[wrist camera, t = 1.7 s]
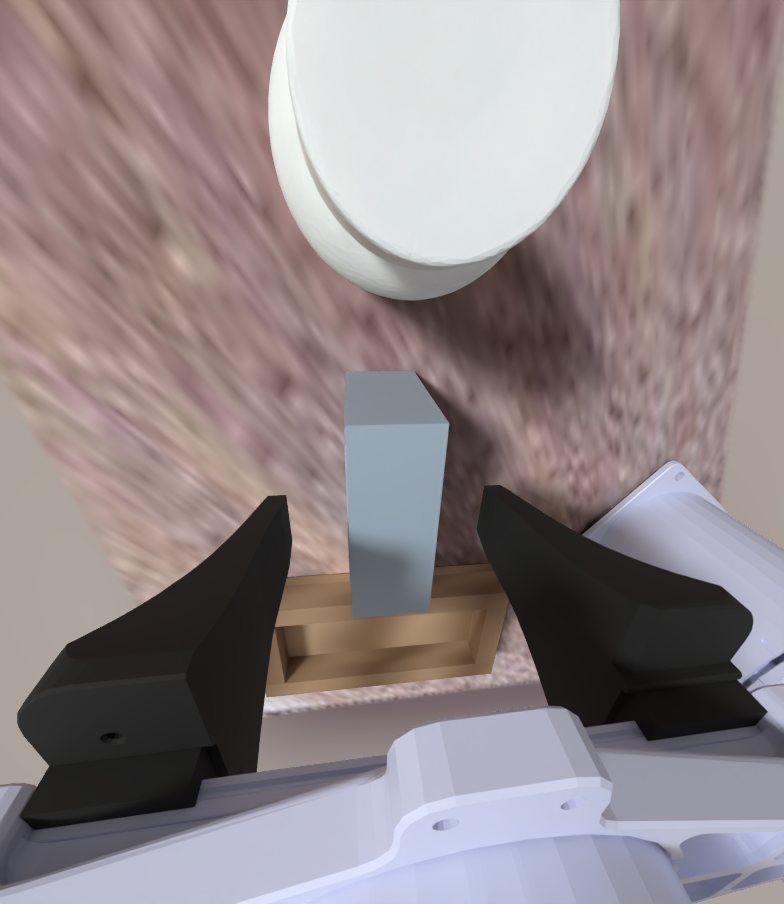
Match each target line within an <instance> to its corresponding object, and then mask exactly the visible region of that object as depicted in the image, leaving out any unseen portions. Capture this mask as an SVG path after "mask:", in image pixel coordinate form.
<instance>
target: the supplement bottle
mask: <svg viewBox="0 0 784 904" xmlns="http://www.w3.org/2000/svg"><path fill="white" fill-rule="evenodd" d="M619 34H620V1H619V0H289V1H288V10H287V16H286V18H285V21H284V23H283V26H282V29H281V32H280V35H279V38H278V42H277V46H276V50H275V54H274V58H273V64H272V69H271V77H270V86H269V99H268V104H269V132H270V140H271V148H272V155H273V160H274V164H275V168H276V172H277V176H278V180H279V183H280V186H281V189H282V192H283V195H284V197H285V200H286V202H287V205H288V207H289V209H290V212H291V214H292V216H293V217H294V219H295V221H296V223H297V225H298V227H299V228H300V230H301V232H302V233H303V235H304V236H305V238H306V239H307V240H308V242H309V243H310V245H311V246H312V248H313V249H314V250H315V251H316V253H317V254H318V255H319V256H320V257H321V258H322V259H323V260H324V261H325V262H326V263H327V264H328V265H329V266H330V267H331V268H332V269H333V270H335V271H336V272H337V273H338V274H339V275H341V276H342V277H344V278H345V279H346V280H348V281H349V282H351V283H352V284H354V285H356V286H358V287H360V288H362V289H364V290H366V291H368V292H371V293H373V294H376V295H380V296H383V297H387V298H392V299H398V300H424V299H430V298H435V297H439V296H443V295H446V294H449V293H452V292H454V291H456V290H458V289H460V288H462V287H464V286H466V285H468V284H470V283H472V282H473V281H475V280H476V279H477V278H479V277H480V276H482V275H483V274H484V273H486V272H487V271H488V270H489V269H491V268H492V267H493V266H494V265H495V264H496V263H497V262H498V261H499V260H500V259H501V258H502V257H503V256H504V255H505V254H506V252H507V251H508V250H509V249H510V248H512V247H514V246H515V245H517V244H518V243H520V242H521V241H522V240H524V239H525V238H526V237H528V236H529V235H530V234H532V233H533V232H534V231H535V230H537V229H538V228H539V227H540V226H541V225H542V224H543V223H544V222H545V221H546V220H547V219H548V218H549V217H550V215H551V214H552V213H553V212H554V211H555V210H556V209H557V208H558V207H559V205H560V204H561V202H562V201H563V200H564V198H565V197H566V195H567V194H568V193H569V191H570V190H571V188H572V187H573V185H574V183H575V182H576V180H577V179H578V177H579V176H580V174H581V173H582V171H583V169H584V167H585V165H586V163H587V161H588V159H589V157H590V155H591V152H592V150H593V147H594V145H595V143H596V140H597V138H598V135H599V133H600V130H601V127H602V124H603V121H604V118H605V115H606V112H607V109H608V105H609V100H610V96H611V92H612V88H613V83H614V78H615V70H616V64H617V58H618V42H619Z"/></svg>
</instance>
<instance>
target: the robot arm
mask: <svg viewBox="0 0 784 904" xmlns="http://www.w3.org/2000/svg"><path fill="white" fill-rule="evenodd" d="M477 531H478V534H479V537H480V540H481V543H482V546H483V549H484V552H485V554H486V556H487V558H488V560H489V562H490V564H491V566H492V568H493V570H494V572H495V574H496V576H497V578H498V580H499V582H500V584H501V586H502V588H503V589H504V591H505V593H506V595H507V597H508V599H509V601H510V603H511V605H512V607H513V609H514V612H515V614H516V616H517V618H518V621H519V623H520V626H521V629H522V631H523V634H524V636H525V639H526V641H527V644H528V647H529V650H530V653H531V655H532V658H533V661H534V664H535V666H536V669H537V672H538V675H539V678H540V681H541V684H542V687H543V690H544V693H545V696H546V699H547V702H548V705H549V706H535V707H527V708H519V709H511V710H504V711H496V712H489V713H480V714H472V715H464V716H457V717H449V718H441V719H435V720H431V721H428V722H424V723H420V724H417V725H414V726H413V727H411V728H410V729H408V730H406V731H405V732H403V733H402V734H400V735H398V737H397V738H396V739H395V741H394V743H393V745H392V746H391V748H390V750H389V752H388V754H387V755H380V756H373V757H367V758H358V759H351V760H344V761H336V762H329V763H322V764H314V765H307V766H300V767H292V768H285V769H278V770H270V771H263V772H257V762H258V752H259V742H260V733H261V724H262V716H263V707H264V698H265V690H266V683H267V675H268V667H269V660H270V653H271V645H272V639H273V634H274V629H275V624H276V620H277V616H278V612H279V608H280V603H281V599H282V595H283V591H284V587H285V583H286V579H287V575H288V570H289V565H290V557H291V547H292V536H291V528H290V521H289V513H288V506H287V498H286V495H278V496H268V497H267V498H266V499H265V500H264V501H263V502H262V503H261V504H260V505H259V506H258V508H257V509H256V510H255V511H254V512H253V513H252V514H251V515H250V517H249V518H248V519H247V520H246V521H245V522H244V523H243V524H242V525H241V526H240V527H239V528H238V529H237V530H236V532H235V533H234V534H233V535H232V536H231V537H230V538H229V539H228V540H226V541H225V542H224V543H223V544H222V545H221V546H220V547H219V548H218V549H217V550H216V551H215V552H214V553H213V554H212V555H210V556H209V557H208V558H207V559H206V560H204V561H203V562H202V563H201V564H199V565H198V566H197V567H196V568H194V569H193V570H192V571H191V572H189V573H188V574H187V575H185V576H184V577H182V578H181V579H179V580H178V581H176V582H175V583H174V584H172V585H171V586H169V587H168V588H166V589H165V590H164V591H162V592H161V593H159V594H158V595H156V596H154V597H153V598H151V599H150V600H148V601H146V602H145V603H143V604H142V605H140V606H138V607H136V608H135V609H133V610H131V611H130V612H128V613H126V614H125V615H123V616H121V617H119V618H117V619H116V620H114V621H112V622H110V623H108V624H106V625H104V626H102V627H100V628H98V629H96V630H94V631H92V632H90V633H88V634H87V635H85V636H83V637H81V638H79V639H77V640H75V641H73V642H71V643H68V644H67V645H66V646H65V648H64V649H63V650H62V651H61V653H60V654H59V655H58V657H57V658H56V659H55V661H54V662H53V663H52V664H51V666H50V667H49V669H48V670H47V672H46V673H45V674H44V675H43V677H42V678H41V680H40V681H39V683H38V684H37V685H36V686H35V688H34V689H33V691H32V692H31V693H30V695H29V696H28V697H27V699H26V700H25V702H24V703H23V705H22V706H21V708H20V709H19V711H18V715H17V716H18V717H17V723H18V726H19V728H20V730H21V732H22V734H23V735H24V737H25V738H26V739H27V740H28V742H30V744H31V745H32V746H33V747H34V748H35V749H36V751H37V752H38V753H39V754H40V755H41V757H42V758H43V759H44V760H45V761H46V762H47V764H48V765H49V768H48V769H47V771H46V773H45V775H44V776H43V778H42V780H41V781H40V783H39V785H38V786H37V787H36V786H35V785H31V784H26V783H12V784H5V785H0V904H694V903H697V902H701V901H704V900H708V899H711V898H715V897H718V896H722V895H725V894H729V893H732V892H736V891H739V890H743V889H746V888H750V887H753V886H757V885H760V884H764V883H768V882H771V881H774V880H778V879H782V881H783V882H784V550H783V549H782V548H780V547H779V546H777V545H776V544H774V543H772V542H771V541H769V540H768V539H766V538H764V537H763V536H762V535H760V534H758V533H757V532H755V531H754V530H752V529H751V528H749V527H747V526H746V525H744V524H743V523H741V522H740V521H738V520H736V519H735V518H733V517H732V516H731V515H730V514H729V513H728V512H727V511H726V510H725V509H724V508H723V507H722V505H721V504H720V503H719V502H718V501H717V500H716V499H715V498H714V497H713V496H712V495H711V494H710V493H709V492H708V491H707V490H706V489H705V488H704V487H703V486H702V485H701V484H700V483H699V482H698V480H697V479H696V478H695V477H694V476H693V475H692V474H691V473H690V472H689V471H688V470H687V469H686V468H685V467H684V466H683V465H682V464H680V463H679V462H677V461H670V462H667V463H666V464H665V465H663V466H662V467H661V468H660V469H659V470H657V471H656V472H655V473H654V474H653V475H652V476H650V477H649V478H648V479H647V480H646V481H645V482H643V483H642V484H641V485H640V486H639V487H637V488H636V489H635V490H634V491H633V492H632V493H630V494H629V495H628V496H627V497H626V498H625V499H623V500H622V501H621V502H620V503H619V504H617V505H616V506H615V507H614V508H613V509H612V510H610V511H609V512H608V513H607V514H606V515H605V516H603V517H602V518H601V519H600V520H599V521H598V522H596V523H595V524H594V525H593V526H592V527H590V528H589V529H588V530H587V531H586V532H585V533H583V534H582V535H581V534H579V533H577V532H575V531H573V530H571V529H570V528H568V527H566V526H564V525H563V524H561V523H559V522H557V521H556V520H554V519H553V518H551V517H549V516H548V515H546V514H544V513H543V512H541V511H540V510H538V509H537V508H535V507H534V506H532V505H531V504H529V503H528V502H526V501H524V500H523V499H521V498H520V497H518V496H517V495H515V494H514V493H512V492H511V491H509V490H508V489H506V488H504V487H502V486H501V485H493V486H484V491H483V497H482V503H481V508H480V514H479V520H478V526H477Z"/></svg>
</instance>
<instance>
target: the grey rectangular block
mask: <svg viewBox="0 0 784 904" xmlns="http://www.w3.org/2000/svg"><path fill="white" fill-rule="evenodd" d="M448 431H449V422H448V421H447V419H446V418H445V416H444V415H443V413H442V412H441V410H440V409H439V407H438V406H437V404H436V403H435V401H434V400H433V398H432V397H431V395H430V394H429V393H428V391H427V390H426V388H425V387H424V385H423V384H422V382H421V381H420V379H419V378H418V376H417V375H416V373H415V372H414V371H355V372H345V468H346V493H347V518H348V543H349V568H350V583H351V594H352V618H361V617H373V616H385V615H396V614H408V613H420V612H429V608H430V599H431V590H432V580H433V571H434V562H435V552H436V543H437V534H438V524H439V515H440V506H441V496H442V487H443V478H444V468H445V459H446V450H447V440H448Z"/></svg>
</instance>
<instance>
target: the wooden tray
mask: <svg viewBox="0 0 784 904" xmlns="http://www.w3.org/2000/svg"><path fill="white" fill-rule="evenodd" d="M508 603H509V599H508V597H507V595H506V593H505V591H504V589H503V588H502V586H501V584H500V582H499V580H498V578H497V576H496V574H495V572H494V570H493V568H492V566H491V564H490V563H489V564H475V565H460V566H446V567H434V571H433V580H432V590H431V599H430V608H429V612H420V613H408V614H396V615H385V616H373V617H361V618H352V594H351V583H350V573H345V574H331V575H316V576H302V577H288V578H287V579H286V583H285V587H284V591H283V595H282V599H281V603H280V608H279V612H278V616H277V620H276V624H275V629H274V634H273V639H272V645H271V653H270V660H269V667H268V675H267V683H266V690H265V692H266V696H267V697H275V696H284V695H294V694H303V693H312V692H322V691H331V690H341V689H350V688H359V687H369V686H378V685H387V684H397V683H406V682H415V681H425V680H434V679H444V678H453V677H462V676H472V675H481V674H490V673H491V671H492V667H493V663H494V659H495V655H496V651H497V647H498V643H499V639H500V635H501V631H502V627H503V623H504V619H505V615H506V611H507V607H508Z"/></svg>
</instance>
